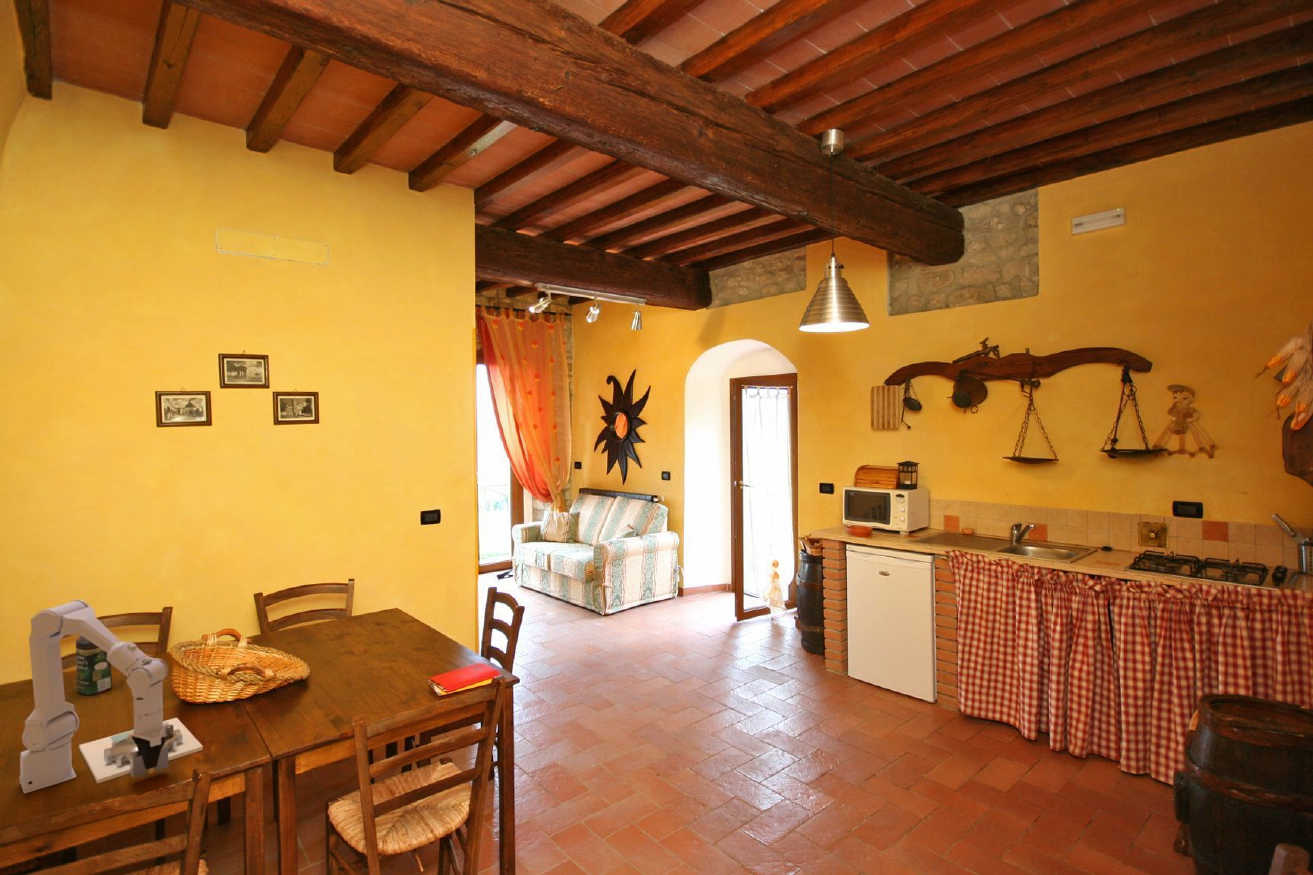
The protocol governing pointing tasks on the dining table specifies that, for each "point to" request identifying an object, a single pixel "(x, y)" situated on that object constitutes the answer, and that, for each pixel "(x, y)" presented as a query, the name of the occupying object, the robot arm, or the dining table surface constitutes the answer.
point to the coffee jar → (92, 668)
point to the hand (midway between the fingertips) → (149, 764)
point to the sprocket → (127, 746)
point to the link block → (139, 768)
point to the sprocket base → (105, 772)
